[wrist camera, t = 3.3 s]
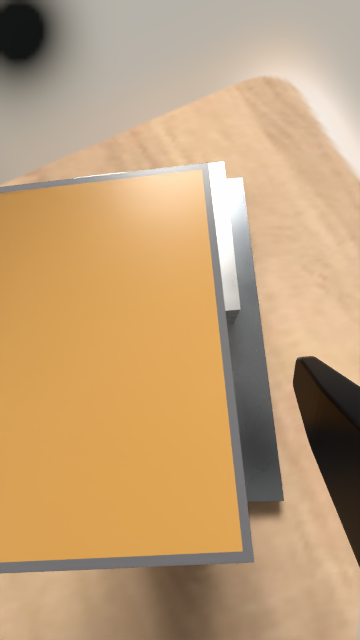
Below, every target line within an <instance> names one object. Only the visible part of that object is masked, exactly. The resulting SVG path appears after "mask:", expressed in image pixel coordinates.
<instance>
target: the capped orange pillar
mask: <svg viewBox="0 0 360 640" xmlns="http://www.w3.org/2000/svg"><path fill="white" fill-rule="evenodd" d="M250 562H254V557H253V549H252V540H251V531H250V522H249V514H248V505H247V496H246V487H245V479H244V470H243V461H242V452H241V444H240V435H239V426H238V417H237V408H236V400H235V391H234V382H233V373H232V365H231V356H230V347H229V338H228V330H227V321H226V312H225V303H224V295H223V286H222V277H221V268H220V259H219V251H218V242H217V233H216V224H215V216H214V207H213V198H212V189H211V181H210V172H209V163H201V164H192V165H184V166H175V167H167V168H158V169H150V170H141V171H133V172H124V173H116V174H107V175H99V176H90V177H82V178H73V179H65V180H56V181H48V182H39V183H31V184H22V185H14V186H5V187H0V573H21V572H44V571H67V570H90V569H113V568H136V567H159V566H182V565H205V564H228V563H250Z"/></svg>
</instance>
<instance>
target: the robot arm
mask: <svg viewBox="0 0 360 640" xmlns="http://www.w3.org/2000/svg"><path fill="white" fill-rule="evenodd" d="M293 387H294V391H295V395H296V398H297V402H298V406H299V409H300V413H301V416H302V420H303V423H304V427H305V431H306V434H307V437H308V441H309V444H310V446H311V449H312V452H313V454H314V457H315V459H316V462H317V464H318V466H319V469H320V471H321V474H322V476H323V479H324V481H325V484H326V486H327V489H328V491H329V493H330V496H331V498H332V501H333V503H334V506H335V508H336V511H337V513H338V515H339V518H340V520H341V523H342V525H343V528H344V530H345V533H346V535H347V538H348V540H349V542H350V545H351V547H352V550H353V552H354V555H355V557H356V560H357V562H358V565H359V567H360V386H358V385H357V384H355V383H354V382H352V381H350V380H349V379H347V378H346V377H344V376H343V375H341V374H340V373H338V372H337V371H335V370H334V369H332V368H331V367H329V366H328V365H326V364H325V363H323V362H322V361H320V360H319V359H317V358H316V357H313V356H307V357H299V358H297V360H296V364H295V371H294V378H293Z"/></svg>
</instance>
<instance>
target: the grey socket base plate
mask: <svg viewBox="0 0 360 640" xmlns="http://www.w3.org/2000/svg"><path fill="white" fill-rule="evenodd" d="M209 172H210V181H211V189H212V198H213V207H214V216H215V224H216V233H217V242H218V251H219V259H220V268H221V277H222V286H223V295H224V303H225V312H226V321H227V330H228V338H229V347H230V356H231V365H232V373H233V382H234V391H235V400H236V408H237V417H238V426H239V435H240V444H241V452H242V461H243V470H244V479H245V487H246V496H247V502H265V501H284V498H283V490H282V482H281V474H280V466H279V459H278V451H277V443H276V435H275V427H274V420H273V412H272V404H271V396H270V389H269V381H268V373H267V365H266V357H265V350H264V342H263V334H262V326H261V318H260V311H259V303H258V295H257V287H256V280H255V272H254V264H253V256H252V248H251V241H250V233H249V225H248V217H247V209H246V202H245V194H244V186H243V178H232V179H226V175H225V167H224V162H218V163H209ZM114 174H116V173H114ZM105 175H107V174H105ZM95 176H99V175H95ZM86 177H90V176H86ZM77 178H82V177H77Z"/></svg>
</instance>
